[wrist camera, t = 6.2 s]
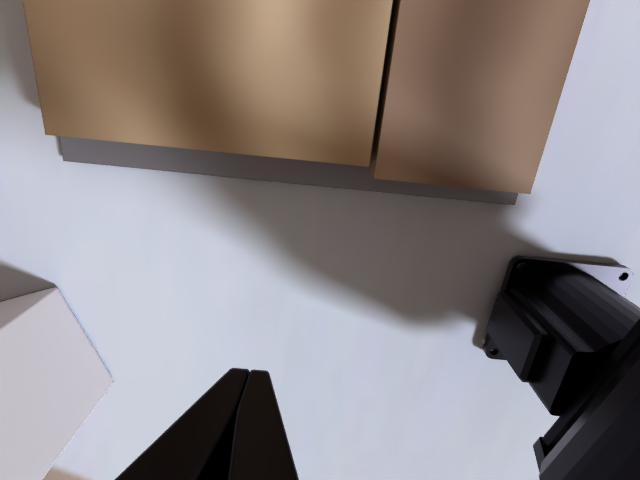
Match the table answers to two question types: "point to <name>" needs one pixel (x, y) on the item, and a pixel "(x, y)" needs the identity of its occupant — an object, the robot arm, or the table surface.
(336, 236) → the table surface
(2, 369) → the milk carton
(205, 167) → the underlay mat
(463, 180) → the walnut plank
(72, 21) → the oak plank
